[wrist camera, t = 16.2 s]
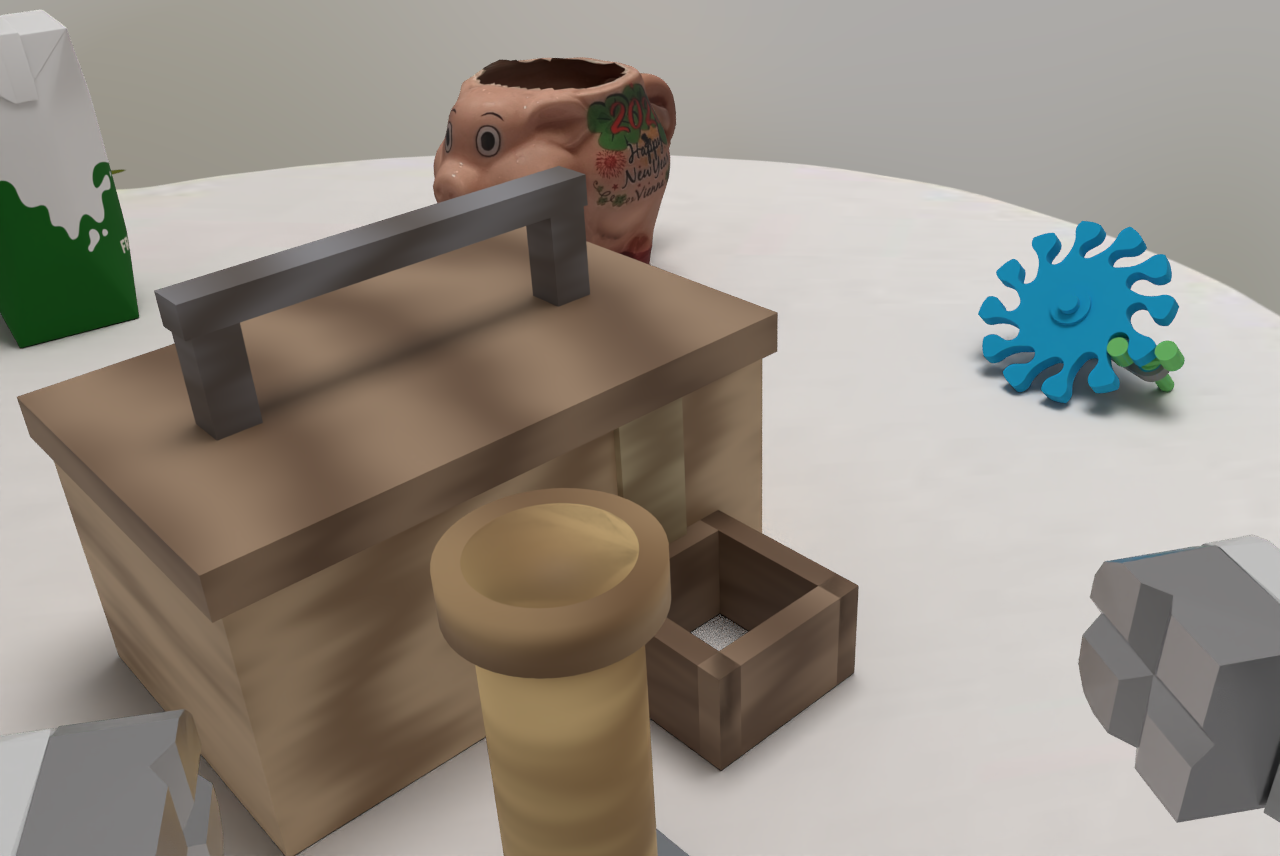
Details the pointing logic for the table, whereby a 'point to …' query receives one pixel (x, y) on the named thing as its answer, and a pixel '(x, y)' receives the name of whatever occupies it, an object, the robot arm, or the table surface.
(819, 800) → the table surface
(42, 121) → the milk carton
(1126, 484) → the table surface
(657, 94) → the pink ceramic mug
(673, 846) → the mat
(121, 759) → the robot arm
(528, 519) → the tan cylinder
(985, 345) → the gear
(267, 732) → the toolbox
